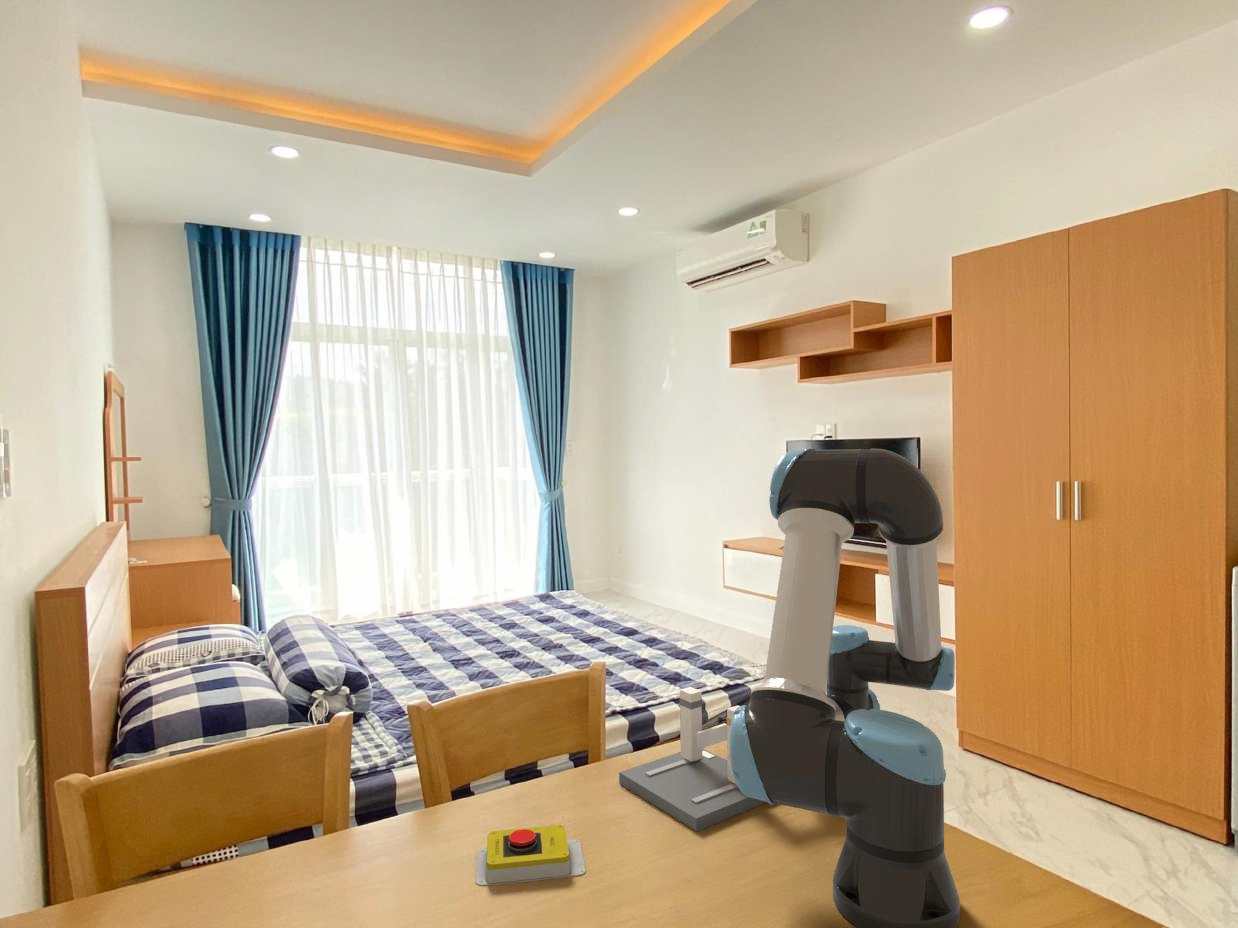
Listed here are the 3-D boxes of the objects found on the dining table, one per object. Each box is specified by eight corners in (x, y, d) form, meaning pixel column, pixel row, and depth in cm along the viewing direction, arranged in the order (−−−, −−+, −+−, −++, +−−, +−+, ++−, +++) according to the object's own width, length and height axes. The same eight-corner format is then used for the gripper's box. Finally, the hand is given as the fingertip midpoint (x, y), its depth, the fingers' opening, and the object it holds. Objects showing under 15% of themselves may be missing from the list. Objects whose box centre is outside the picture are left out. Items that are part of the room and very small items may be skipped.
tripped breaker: (738, 775, 127) (737, 704, 127) (751, 782, 124) (751, 710, 124) (727, 779, 125) (726, 708, 125) (740, 786, 123) (739, 713, 123)
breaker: (691, 752, 137) (690, 686, 136) (702, 757, 134) (701, 691, 134) (680, 755, 135) (679, 689, 135) (691, 761, 133) (690, 694, 132)
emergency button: (477, 823, 110) (579, 813, 112) (477, 852, 110) (579, 842, 112) (474, 857, 101) (586, 846, 103) (475, 890, 101) (586, 878, 103)
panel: (697, 756, 141) (697, 744, 141) (778, 796, 125) (778, 783, 125) (619, 783, 130) (619, 770, 130) (696, 831, 114) (696, 816, 114)
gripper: (872, 768, 125) (784, 805, 113) (761, 723, 146) (677, 751, 133) (871, 723, 125) (783, 756, 113) (761, 684, 145) (676, 709, 133)
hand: (725, 753), depth 123 cm, fingers open, 13 cm apart
